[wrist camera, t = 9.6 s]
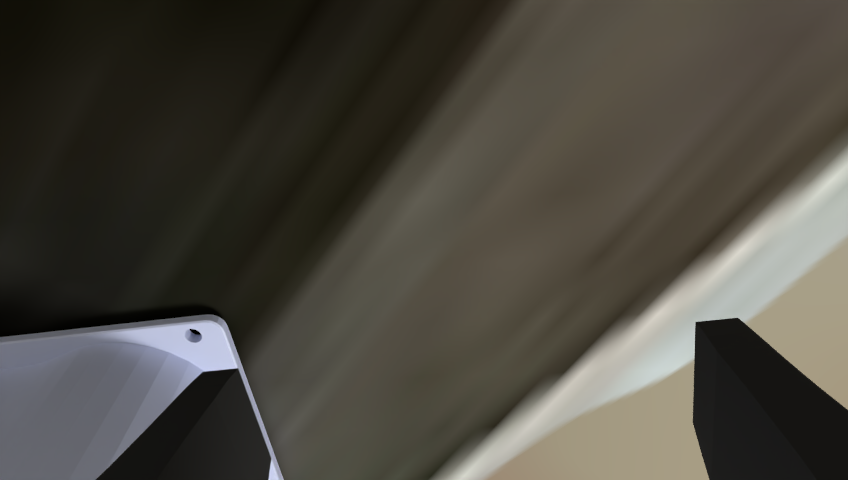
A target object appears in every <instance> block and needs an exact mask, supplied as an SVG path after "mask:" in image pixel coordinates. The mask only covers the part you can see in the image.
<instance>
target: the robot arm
mask: <svg viewBox="0 0 848 480" xmlns="http://www.w3.org/2000/svg"><path fill="white" fill-rule="evenodd" d="M189 329H195V330H197V331H199V332H200V334H201V335H196V334H194V333H192V332H191V331H190V330H189ZM693 404H694V405H693V425H694V428H695V432H696V435H697V439H698V442H699V446H700V449H701V453H702V456H703V459H704V463H705V466H706V469H707V473H708V476H709V479H710V480H848V410H847V409H846V408H844V407H843V406H842V405H841V404H839V403H838V402H837V401H836V400H834V399H833V398H832V397H831V396H829V395H828V394H827V393H826V392H824V391H823V390H822V389H821V388H819V387H818V386H817V385H816V384H815V383H813V382H812V381H811V380H810V379H808V378H807V377H806V376H805V375H804V374H803V373H801V372H800V371H799V370H798V369H797V368H795V367H794V366H793V365H792V364H791V363H790V362H788V361H787V360H786V359H785V358H784V357H782V356H781V355H780V354H779V353H778V352H777V351H776V350H775V349H773V348H772V347H771V346H770V345H769V344H768V343H767V342H765V341H764V340H763V339H762V338H761V337H760V336H759V335H757V334H756V333H755V332H754V331H753V330H752V329H750V328H749V327H748V326H747V325H746V324H745V323H743V322H742V321H741V320H740V319H738V318H732V319H722V320H712V321H702V322H696V328H695V365H694V402H693ZM0 480H283V477H282V474H281V471H280V469H279V466H278V463H277V460H276V458H275V455H274V452H273V449H272V447H271V444H270V441H269V438H268V436H267V433H266V430H265V427H264V425H263V422H262V419H261V416H260V414H259V411H258V408H257V405H256V403H255V400H254V397H253V394H252V392H251V389H250V386H249V383H248V381H247V378H246V375H245V372H244V370H243V367H242V364H241V362H240V359H239V356H238V353H237V351H236V348H235V345H234V342H233V340H232V337H231V334H230V331H229V329H228V326H227V324H226V323H225V321H224V320H223V319H221V318H220V317H218V316H216V315H209V314H206V315H197V316H188V317H179V318H170V319H161V320H152V321H143V322H134V323H124V324H115V325H106V326H97V327H88V328H79V329H70V330H61V331H52V332H43V333H34V334H25V335H16V336H7V337H0Z"/></svg>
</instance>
